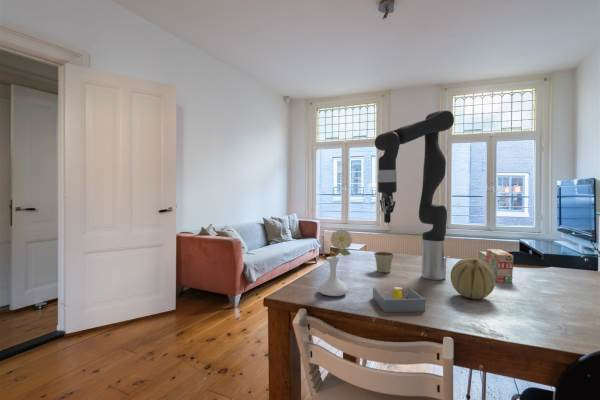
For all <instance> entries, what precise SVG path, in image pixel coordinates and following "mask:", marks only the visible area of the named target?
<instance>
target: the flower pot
mask: <svg viewBox="0 0 600 400" xmlns="http://www.w3.org/2000/svg"><path fill="white" fill-rule="evenodd" d="M373 255H374V257H375V263H376V264H375V265H376V270H377V272H378V273H385V274H388V273H390V272H391V269H392V262H393V259H394V255H395V254H394V253H393V252H389V251H387V252H386V251H376V252H374V253H373Z"/></svg>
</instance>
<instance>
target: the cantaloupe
mask: <svg viewBox="0 0 600 400" xmlns="http://www.w3.org/2000/svg"><path fill="white" fill-rule="evenodd" d="M450 281H451V282H450V283H451V285H452V287H453V289H454V290H455V291H456V292H457V293H458V294H459V295H461V296H462V297H465V298H467V299H471V300H478V299H479V300H480V299H481V300H482V299H485V298H487V297H488V296H489V295H490V294H491V293H492V292H493V291H494V289H495V286H496V281H495V276H494V273H493V271H492V269H491V267H490V266H489V265H488V264H486V263H485V262H483V261H482V260H479V258H472V257H466V258H462V259H460V260H458V261H457V262H456V263H455V264H454V265H453V267H452V268H451V270H450Z"/></svg>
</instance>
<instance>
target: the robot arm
mask: <svg viewBox="0 0 600 400" xmlns="http://www.w3.org/2000/svg"><path fill="white" fill-rule="evenodd" d="M454 124H455V116H454V115H453V112H451V111H450V110H448V109H441V110H438V111H433V112H431V113H429V114H428V115H426V117H425V119H424V120H420V121H416V122H413V123H410V124H405V125H404V126H400V127H398V128H396V129H394V130H390V131H386V132H384V133H381V134H378V135H377V136H376V137H375V140H374V146H375V148H376V149H377V150H378V151H383V155H381V156H380V157H379V158H378V161H377V162H378V173H377V192H378V193H380V194H381V197H380V199H379V205H380V208H381V212H382V213H383V222H384V223H386V224H389V223H391V214H392V213H393V212H394V209H395V206H396V200H394V195H393V193H394V194H395V193H397V190H398V189H397V182H398V181H397V179H398V178H397V158H398V154H399V149H400V145H405V144H407V143H409V142H412V141H414V140H417V139H420V138H421V137H424V160H423V171H422V173H423V175H422V188H421V189H422V190H421V196H420V201H419V206H418V207H419V208H418V219H419V222H421V224H425V225H432V228H431V230H428V231H424V232H423V233H422V234H421V235H422V236H421V237H422V240H421V241H422V243H421V245H422V247H421V248H422V250H421V277H422V278H424V279H427V280H433V281H440V280H441V281H442V280H446V278H447V274H446V273H447V257H446V256H445V240H446V239H445V238H446V233H447V223H448V222H447V220H448V211H447V207H446V206H445V205H443V204H437V203H436V204H434V203H433V199H434V195H435V192H436V190H437V189H438V187H440V185H441V183H442V182H443V180H444V179H445V176H446V170H447V169H446V168H447V167H446V166H447V161H446V157H445V155H444V153H443V151H442V149H441V148H440V144H439V135H440V134H439V133H442V132H445V131H447V130H449V129H451V128H452V127H453V125H454Z"/></svg>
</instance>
